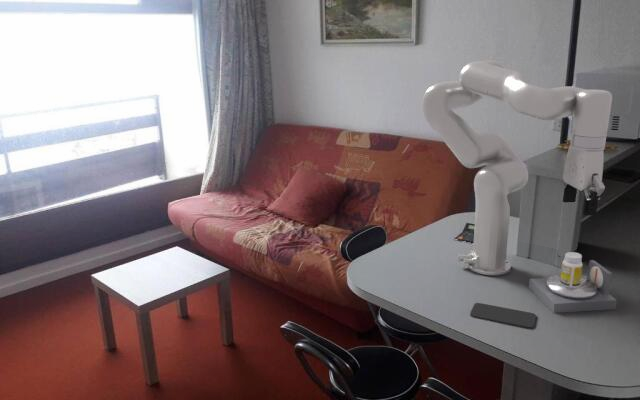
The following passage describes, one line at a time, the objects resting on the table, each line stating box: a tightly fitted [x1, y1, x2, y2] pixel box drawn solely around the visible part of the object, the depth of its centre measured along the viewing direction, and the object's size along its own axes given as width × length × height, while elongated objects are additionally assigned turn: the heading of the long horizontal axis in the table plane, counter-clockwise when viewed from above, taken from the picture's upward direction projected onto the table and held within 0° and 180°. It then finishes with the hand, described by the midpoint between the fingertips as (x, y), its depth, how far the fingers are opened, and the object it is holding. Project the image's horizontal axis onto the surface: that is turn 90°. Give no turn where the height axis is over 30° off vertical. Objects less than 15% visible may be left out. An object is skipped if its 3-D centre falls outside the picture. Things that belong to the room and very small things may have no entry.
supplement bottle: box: [560, 251, 584, 288], centre depth 137 cm, size 5×5×8 cm
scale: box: [528, 259, 617, 314], centre depth 138 cm, size 16×14×8 cm
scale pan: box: [546, 274, 597, 299], centre depth 139 cm, size 12×12×1 cm
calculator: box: [454, 222, 475, 244], centre depth 182 cm, size 9×12×3 cm
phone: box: [469, 302, 537, 330], centre depth 132 cm, size 7×1×15 cm
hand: (578, 208), depth 134 cm, fingers open, 9 cm apart
